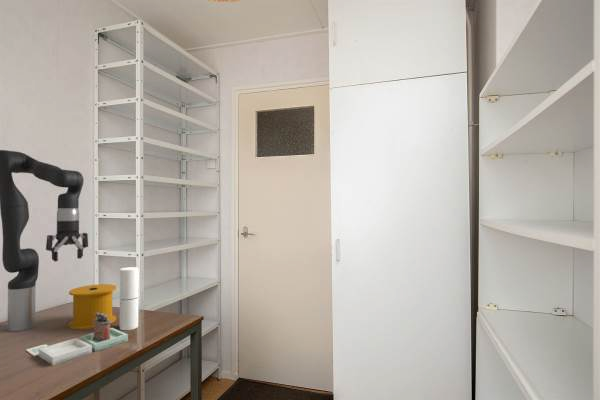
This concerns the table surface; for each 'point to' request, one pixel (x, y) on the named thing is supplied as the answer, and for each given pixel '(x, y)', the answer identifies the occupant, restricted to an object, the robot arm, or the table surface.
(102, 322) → the lighter
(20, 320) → the robot arm
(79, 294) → the spool
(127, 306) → the cylindrical container
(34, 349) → the card
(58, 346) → the white tray
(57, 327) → the table surface
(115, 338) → the green tray
